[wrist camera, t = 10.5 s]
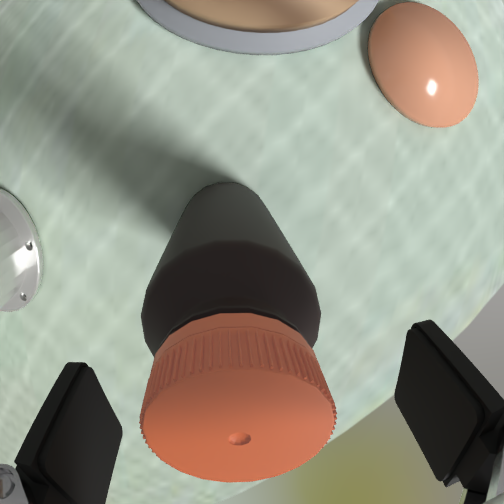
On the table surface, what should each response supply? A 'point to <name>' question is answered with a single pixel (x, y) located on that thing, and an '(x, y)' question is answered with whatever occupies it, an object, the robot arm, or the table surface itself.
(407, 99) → the peach dome
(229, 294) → the vinegar
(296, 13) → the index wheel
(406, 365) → the robot arm
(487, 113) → the table surface
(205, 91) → the table surface
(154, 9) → the wheel base
